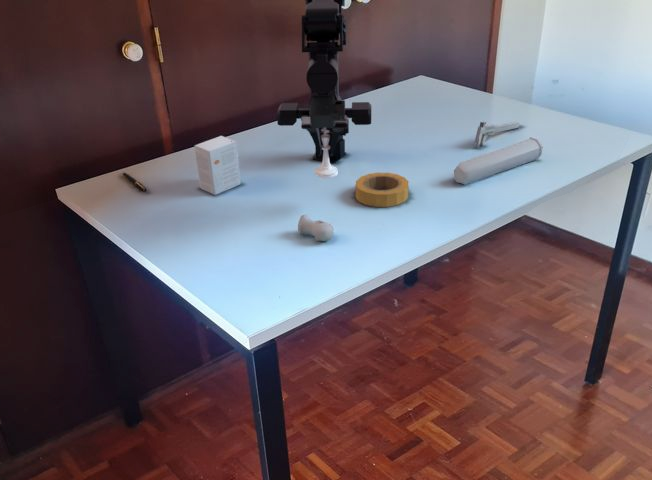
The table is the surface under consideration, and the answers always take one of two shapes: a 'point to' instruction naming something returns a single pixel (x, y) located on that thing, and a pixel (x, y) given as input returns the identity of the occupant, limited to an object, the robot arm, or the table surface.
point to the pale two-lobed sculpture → (315, 228)
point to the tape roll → (382, 198)
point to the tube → (498, 161)
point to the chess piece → (325, 159)
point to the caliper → (491, 131)
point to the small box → (218, 164)
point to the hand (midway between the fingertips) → (325, 154)
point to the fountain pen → (134, 182)
